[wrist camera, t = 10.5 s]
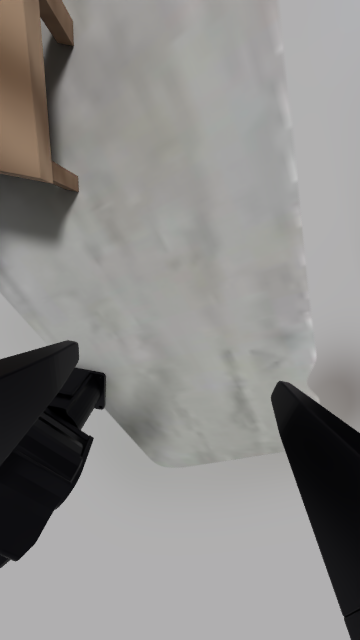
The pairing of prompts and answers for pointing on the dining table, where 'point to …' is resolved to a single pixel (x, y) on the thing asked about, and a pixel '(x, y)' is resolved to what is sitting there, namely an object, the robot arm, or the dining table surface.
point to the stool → (29, 90)
